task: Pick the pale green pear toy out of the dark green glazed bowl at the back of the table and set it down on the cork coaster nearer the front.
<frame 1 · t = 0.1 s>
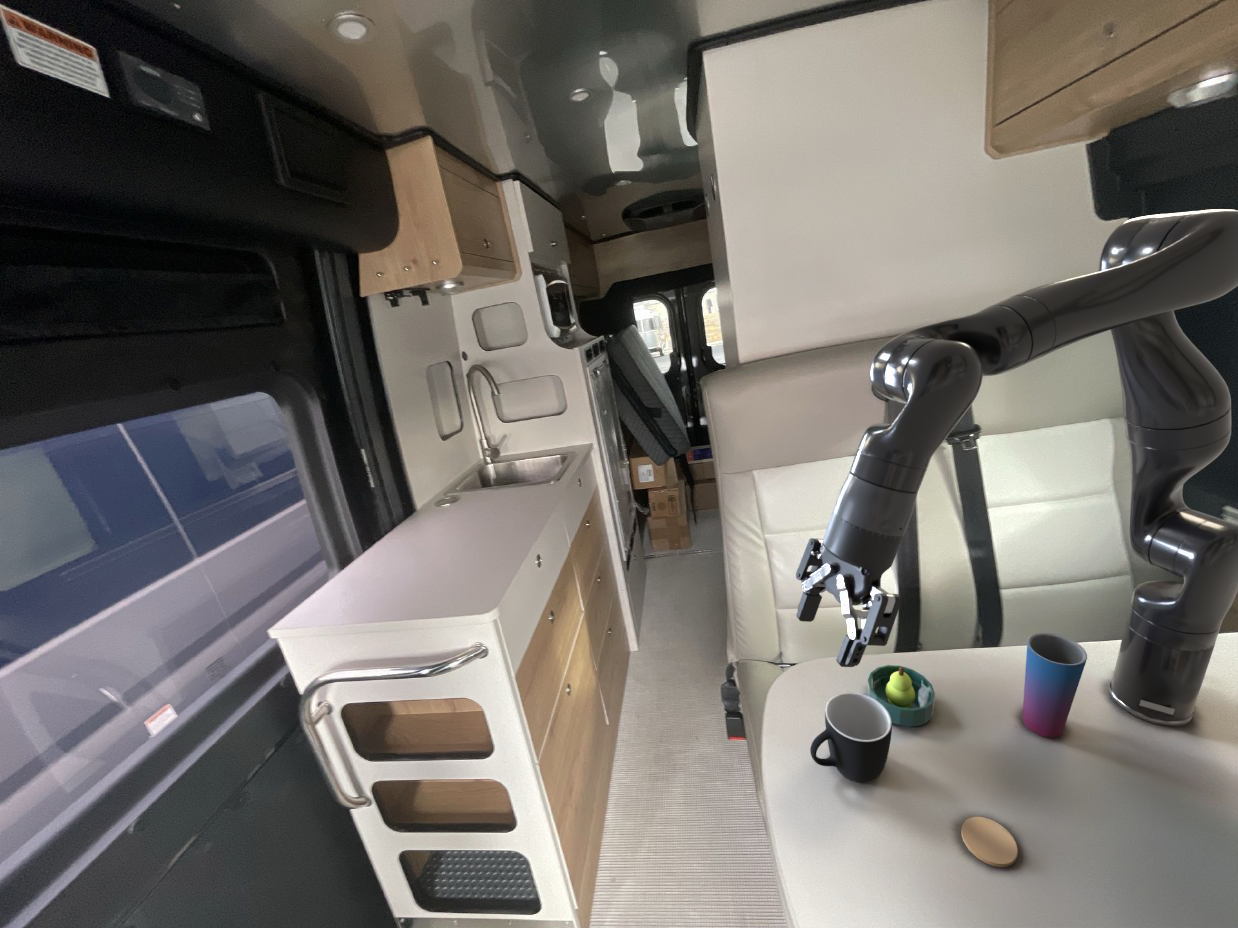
hand: (823, 640, 63), 31 cm above the table, tool tilted 20°, fingers open, 8 cm apart
bowl: (899, 704, 90), on the table
pear: (899, 702, 90), resting on bowl
cup: (1042, 724, 83), on the table
coaster: (988, 842, 69), on the table
mug: (847, 768, 81), on the table
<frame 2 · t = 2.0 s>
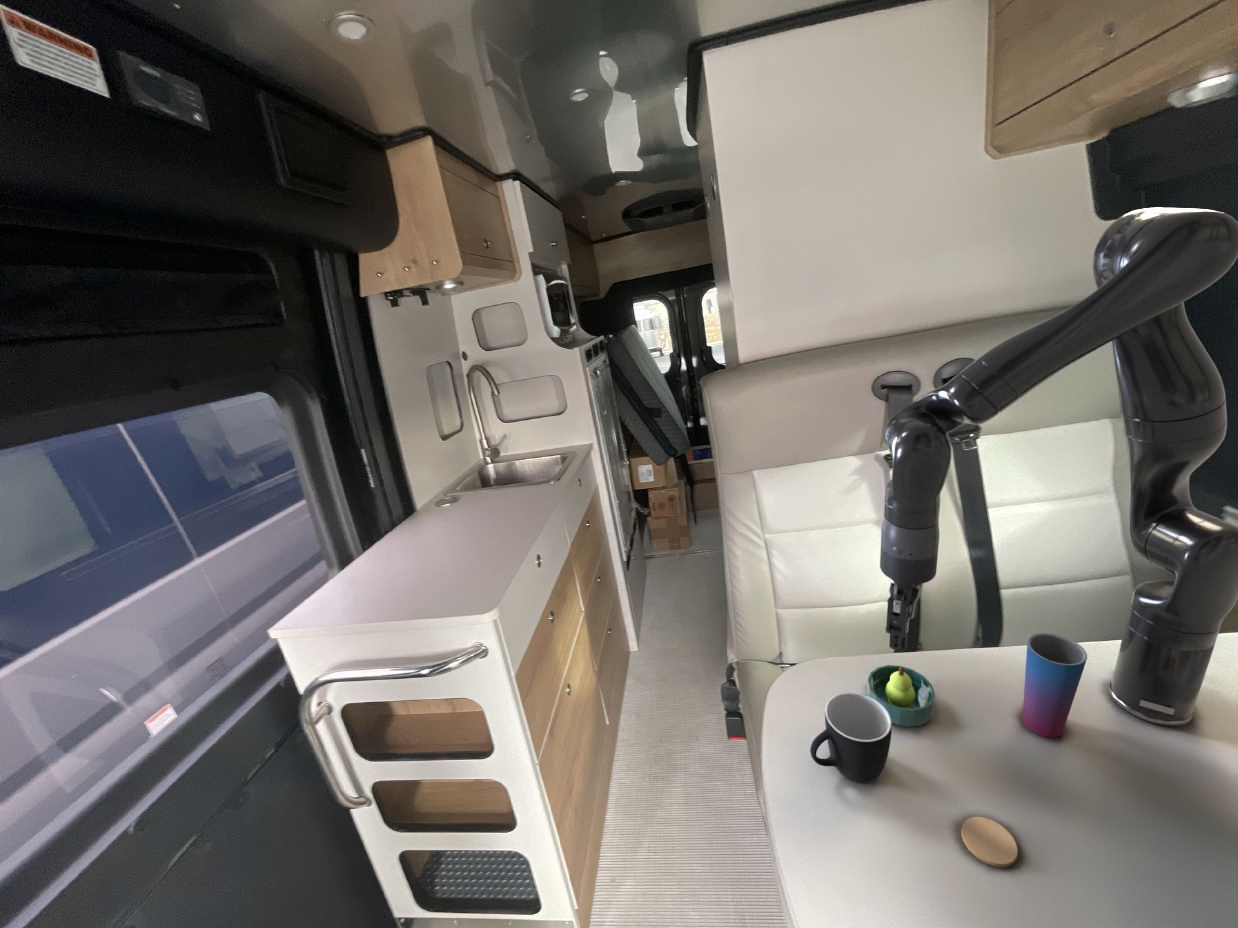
hand: (903, 632, 85), 15 cm above the table, tool pointing down, fingers open, 8 cm apart
nothing on the table moved.
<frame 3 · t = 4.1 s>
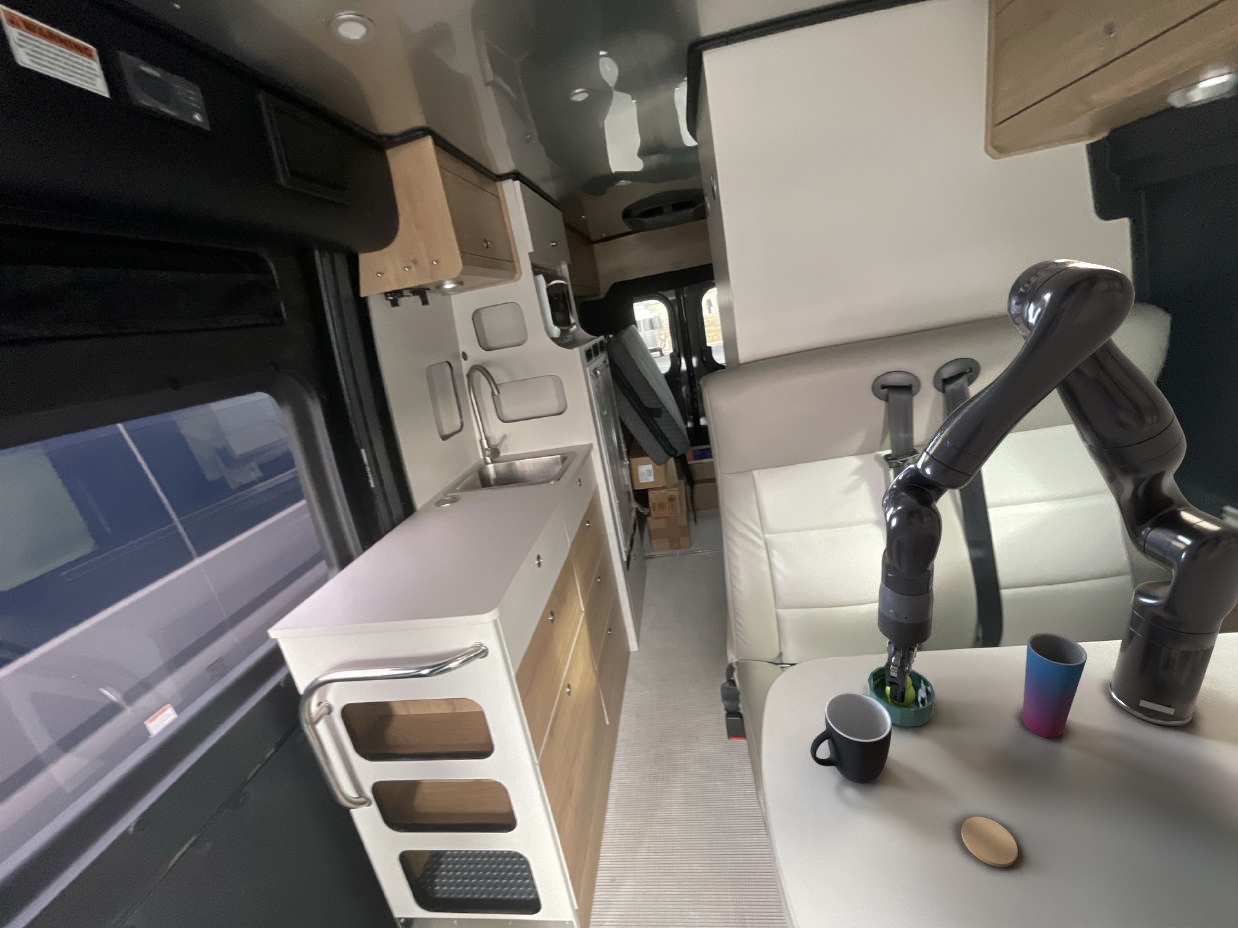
hand: (900, 689, 89), 3 cm above the table, tool pointing down, fingers closed on pear, 4 cm apart
pear: (899, 702, 90), point 1 cm above the table, touching bowl, gripper
everything else where it was.
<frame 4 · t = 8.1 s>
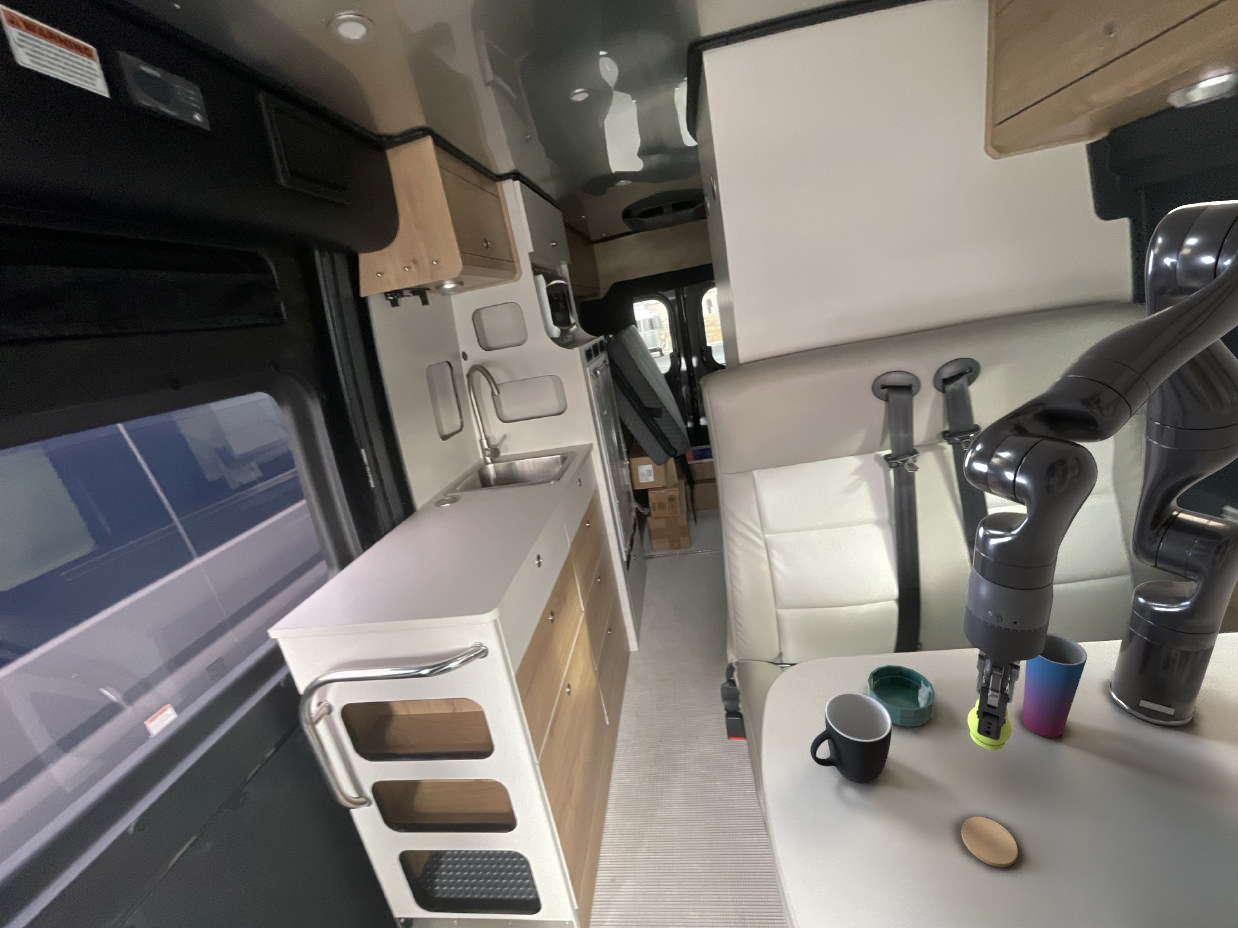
hand: (990, 720, 65), 19 cm above the table, tool pointing down, fingers closed on pear, 4 cm apart
pear: (987, 737, 66), point 16 cm above the table, touching gripper
everything else where it was.
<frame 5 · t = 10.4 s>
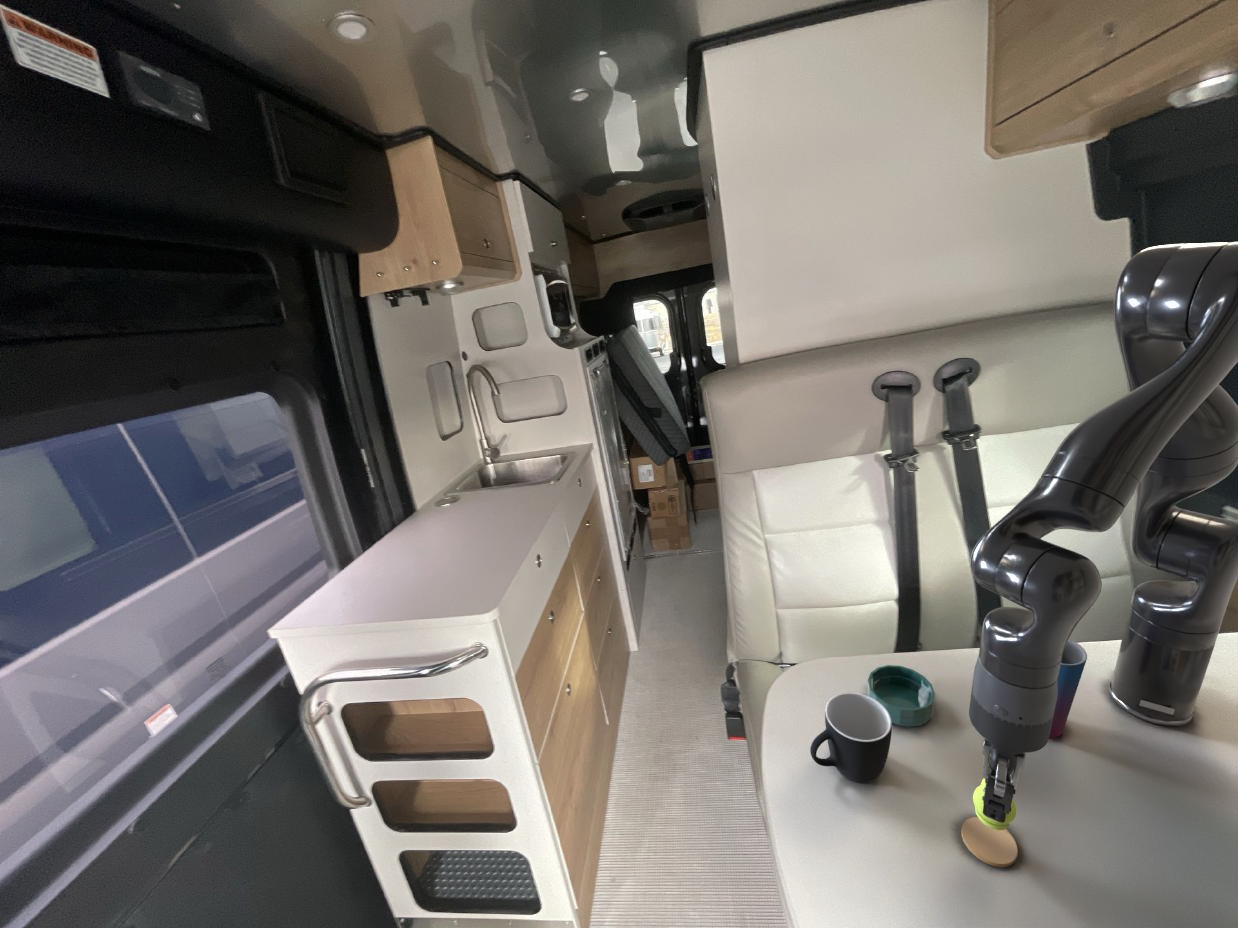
hand: (995, 800, 66), 8 cm above the table, tool pointing down, fingers closed on pear, 4 cm apart
pear: (992, 815, 67), point 5 cm above the table, touching gripper
everything else where it was.
when the fingers open (3 cm above the table, at t = 12.0 s): pear stays where it is, resting on coaster.
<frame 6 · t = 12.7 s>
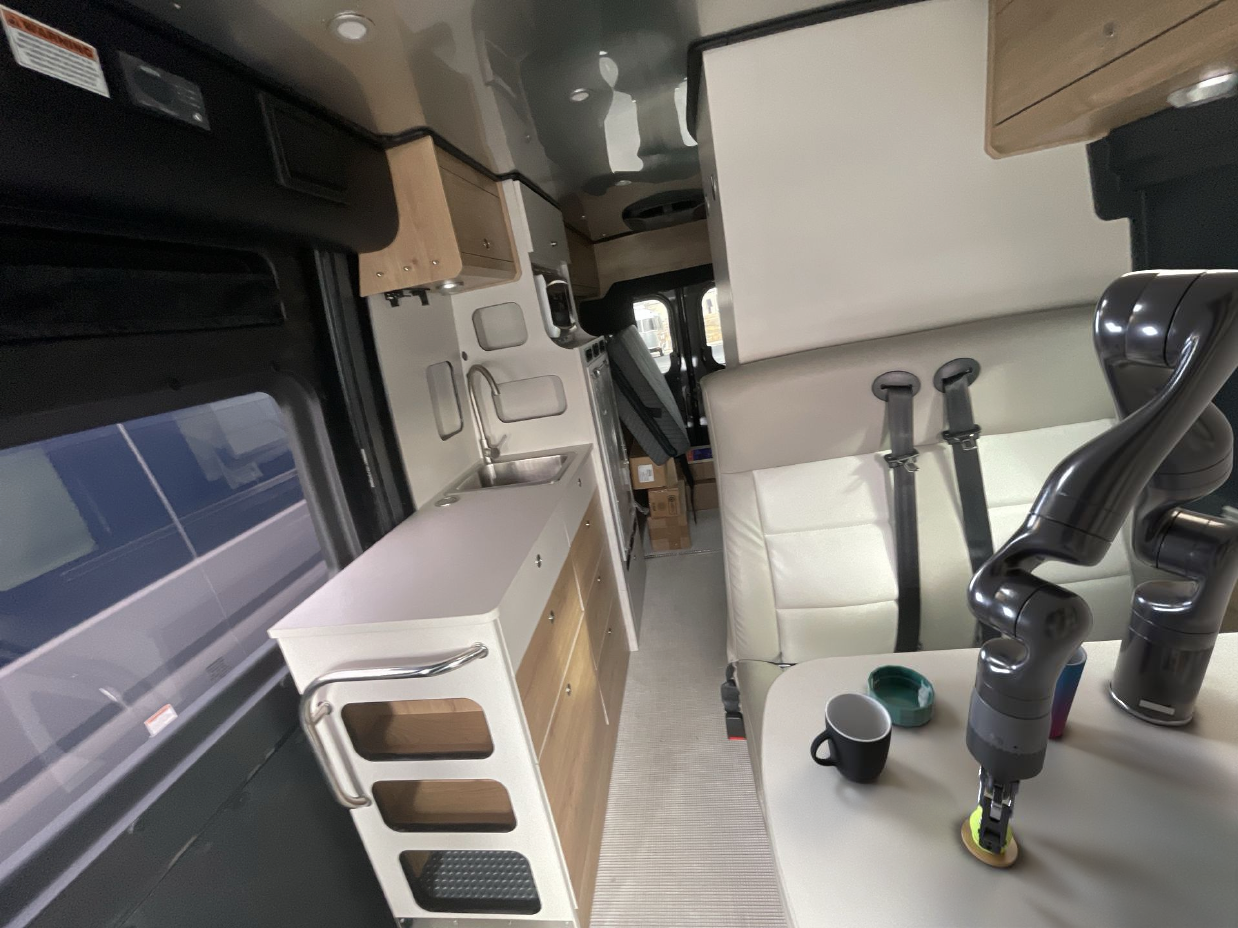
hand: (992, 817, 67), 5 cm above the table, tool pointing down, fingers open, 8 cm apart
pear: (988, 839, 69), point 1 cm above the table, touching coaster
everything else where it was.
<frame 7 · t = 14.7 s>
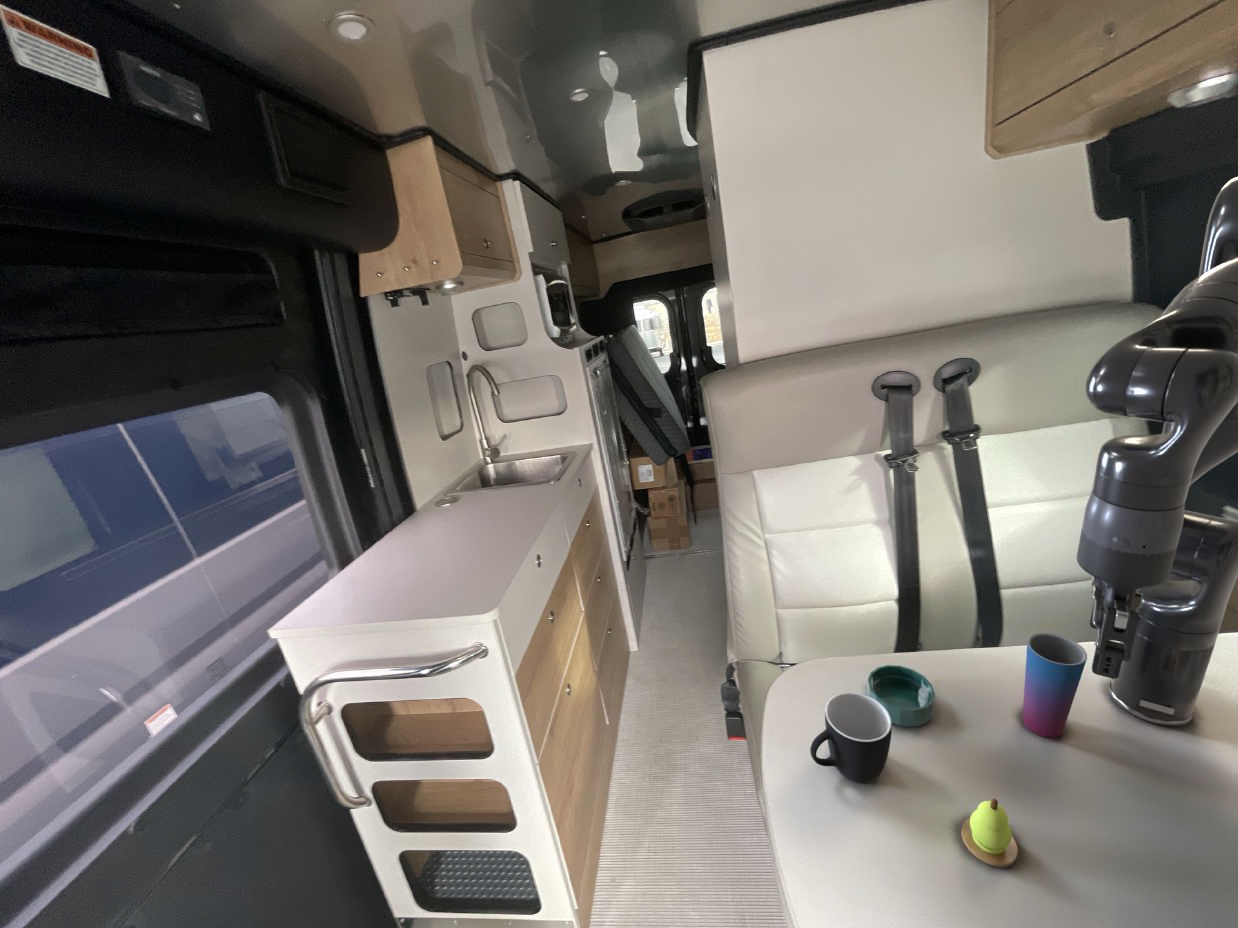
hand: (1102, 650, 63), 26 cm above the table, tool pointing down, fingers open, 8 cm apart
nothing on the table moved.
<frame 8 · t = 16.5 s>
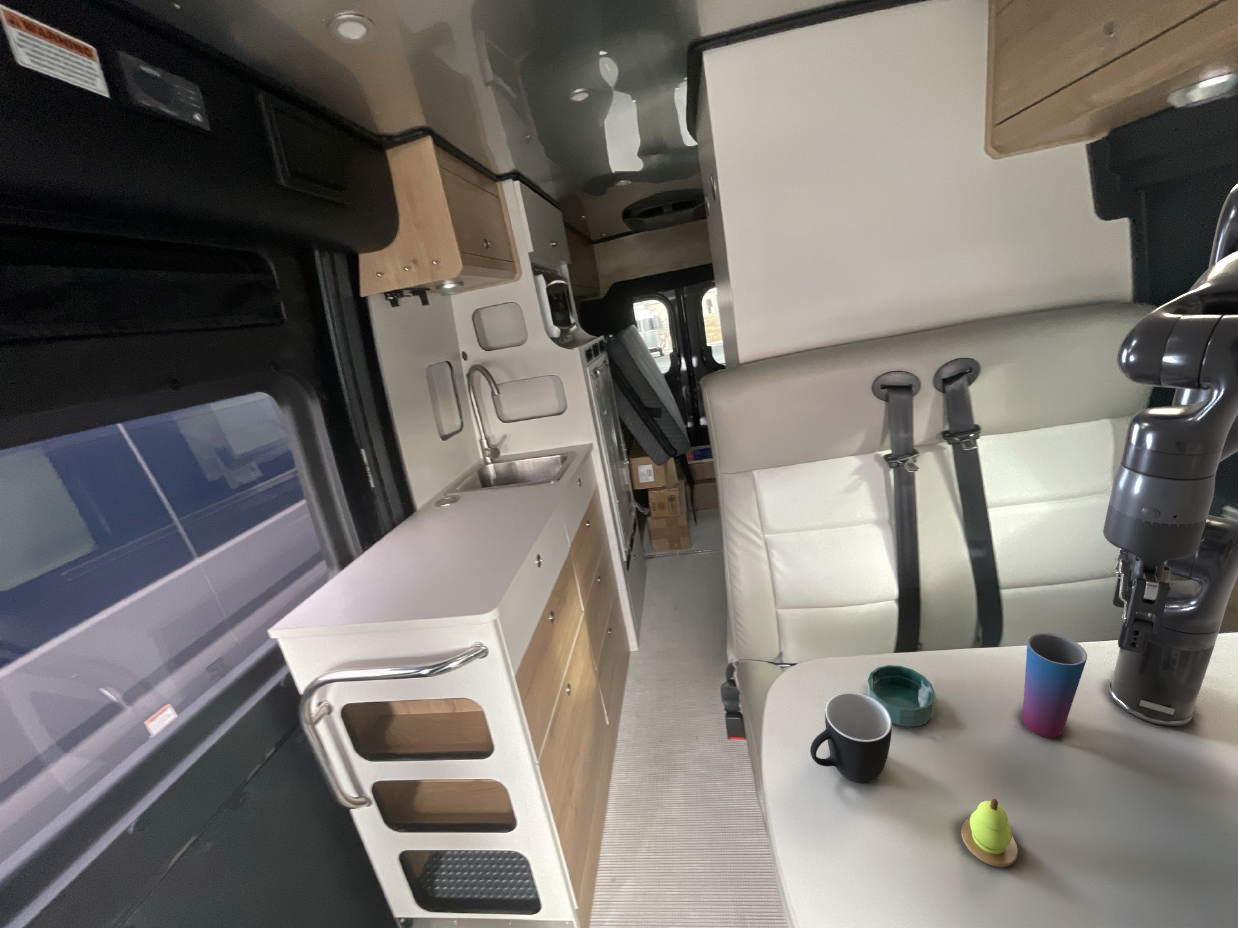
hand: (1127, 626, 63), 28 cm above the table, tool pointing down, fingers open, 8 cm apart
nothing on the table moved.
at the end: pear 0.1 cm off-centre on the coaster, point 0.6 cm above the coaster's base; pear touching coaster; pear tilted 0° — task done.
